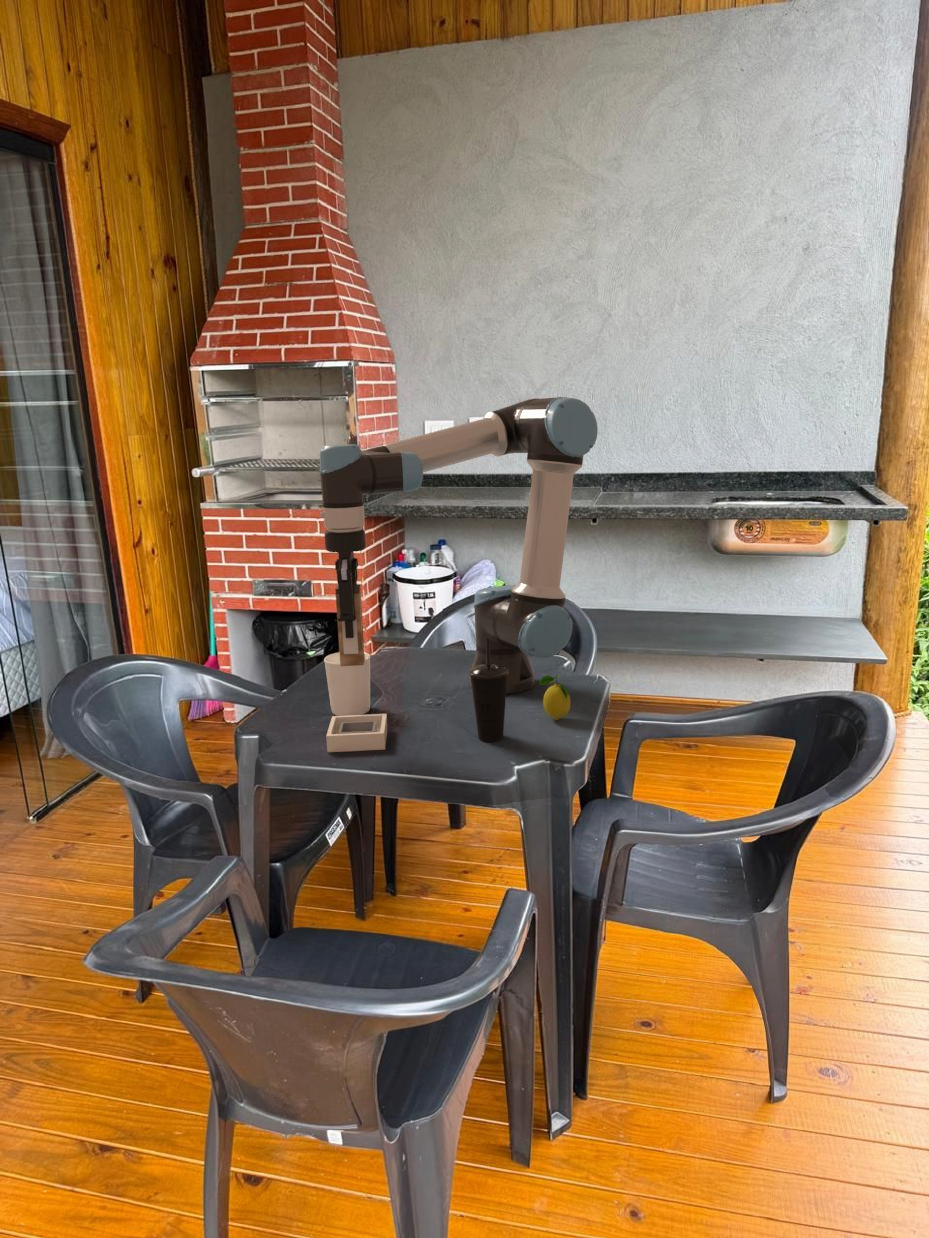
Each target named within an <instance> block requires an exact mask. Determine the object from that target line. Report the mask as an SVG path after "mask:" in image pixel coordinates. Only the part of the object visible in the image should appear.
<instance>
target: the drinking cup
mask: <svg viewBox="0 0 929 1238" xmlns="http://www.w3.org/2000/svg"><path fill="white" fill-rule="evenodd" d="M486 660H487V664H482V665H479V666H477V667H474V668H472V667H471V668H470V669H469V671H468V675H469V677H470V676H471V684H472V688H471V689H472V697H473V703H474V704H473V707H474V713H475V720H476V721H475V722H476V728H477V734H478V735H477V737H478V739H479V741H482V742H486V743H494V742H499V741H502V740H503V738H504V729H505V728H504V727H505V726H504V725H505V714H506V713H505V712H506V696H507V694H506V684H507V675H508V673H509V671H508V669H507V668H505V667H502V666H500V665H497V664H490V643H489V639H486Z"/></svg>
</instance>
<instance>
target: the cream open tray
mask: <svg viewBox="0 0 929 1238" xmlns="http://www.w3.org/2000/svg"><path fill="white" fill-rule="evenodd" d="M388 728H389V727H388V716H387V713H371V714H369V713H368V714H362V715H348V716H337V715H335V716H334V715H333V716H331V719H330V722H329V726H328V729H327V733H326V734H325V735H326V736H325V737H326V740H325V741H326V751H327V753H337V752H338V753H342V752H360V751H382V750H386V746H387V745H386V744H387V736H388Z"/></svg>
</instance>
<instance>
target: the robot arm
mask: <svg viewBox="0 0 929 1238" xmlns="http://www.w3.org/2000/svg"><path fill="white" fill-rule="evenodd" d="M598 430H599V429H598V422H597V418H596V416H595V414H594V412H593V411H592V409H591V407H590V406H589V405H588V404H587V403H586V402H585V401H583V400H580V399H578V398H576V397H567V396H565V397H564V396H562V397H561V396H557V397H547V398H546V397H545V398H530V399H526V400H522V401H520V402H519V401H518V402H516V403H513V404H511V405H509V406H506V407H502V408H499V409H496V410H494V411H490V412H489V411H488V412H487V413H485V414H484V416H483V417H482V418H481V419H478V420H475V421H470V422H466V423H462V424H458V425H455V426H451V427H447V428H443V429H440V430H436V431H432V432H428V433H425V434H421V435H417V436H414V437H410V438H406V439H403V440H398V441H394V442H390V443H386V444H383V445H380V446H375V447H371V448H367V449H364V450H362V449H361V447H360V445H358V444H354V443H350V444H347V443H345V444H328V445H323V446H322V447H321V449H320V451H319V470H318V471H319V476H320V488H321V497H322V499H321V500H322V511H320V512H319V516H320V517H321V518H323V527H324V528H325V529H327V530H325V532H324V534H323V535H324V545H325V547H324V548H325V551H327V552H329V553H337V554H338V558H337V559H336V561H335V562H334V563H335V564H334V567H335V572H336V579H337V581H336V582H337V586H338V587H339V601H340V618H338V621H342V633H343V648H344V654H358V637H357V620H355V619H356V616H355V601H354V585H358V577H359V576H358V566H359V561H358V560H359V559H358V558H356V557H355V554H354V553H355V552H356V553H357V552H361V551H363V550H365V549H366V547H367V544H366V531H365V530H364V526H366V521H365V520H366V519H365V503H364V496H371V495H382V494H397V493H398V494H399V493H402V494H405V493H408V492H415V491H417V490H419V488H420V487H421V486H422V483H423V481H424V473H426V472H431V471H434V470H437V469H441V468H444V467H448V466H453V465H455V464H459V463H462V462H465V461H469V460H473V459H477V458H480V457H484V456H487V455H491V454H492V455H493V456H496V457H502V456H505V455H509V454H527V455H526V462H527V464H528V465H529V466H530V467H531V469H532V474H531V475H532V477H531V485H530V492H529V499H528V501H529V502H528V508H527V509H528V510H527V518H526V524H525V525H526V526H525V535H524V542H523V551H522V559H521V568H520V577H519V583H518V584H516V585H515V584H514V585H512V584H510V585H499V586H498V585H497V586H490V587H485V588H484V587H483V588H481V589H478V590H477V591H476V592H475V594H474V600H473V602H474V603H473V608H474V626H475V629H474V630H475V656H474V658H473V659H474V660H473V662H472V667H471V669H472V668H474V667H477V666H479V665H482V664H487V660H486V639H489V643H490V664H497V665H500V666H502V667H505V668H507V669H508V671H509V673H508V675H507V684H506V695H508V694H509V695H510V694H516V693H522V692H525V691H527V690H530V689H532V688H534V687H535V684H536V680H535V679H536V678H535V677H536V675H535V672H534V669H533V666H532V663H531V660H530V657H536V658H539V659H547V658H551V657H553V656H555V655H557V654H558V653H559V652H560V651H561V650H562V649H564V648H565V647H566V646H567V645H568V643H569V640H570V639H571V637H572V633H573V620H572V617H571V616H570V614H569V612H568V611H567V610H566V609H565V604H566V594H565V593H564V591H563V590H562V589H561V587H560V586H561V578H562V571H563V570H562V569H563V565H564V564H563V562H564V556H565V555H564V554H565V545H566V539H567V531H568V524H569V516H570V509H571V508H570V506H571V498H572V491H573V483H574V482H573V481H574V475H575V474H576V473H577V472H578V471H579V470H581V468H582V467H583V462H584V456H585V455H586V454H588V453H589V452H590V450H591V449H592V448H593V447H594V446H595V444H596V441H597V438H598V434H599V433H598ZM469 687H470V688H471V689H472V684H471V676H470V675H469Z"/></svg>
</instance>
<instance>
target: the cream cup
mask: <svg viewBox="0 0 929 1238" xmlns="http://www.w3.org/2000/svg"><path fill="white" fill-rule="evenodd" d="M364 655H365V662H364V665H358V666H340V652H339V651H338V652H334V653H330V654H328V655H326V656H325V657H324V659H323V662H324V666H325V667H324V668H325V674H326V681H327V683H326V684H327V688H328V696H329V701H330V702H329V703H330V709H331V713H332V715H333V716H334V715H335V716H348V715H366V714H367V713H368V712H369V711H370V709H371V655H370V654H369V653H368V652H365V651H364Z"/></svg>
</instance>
